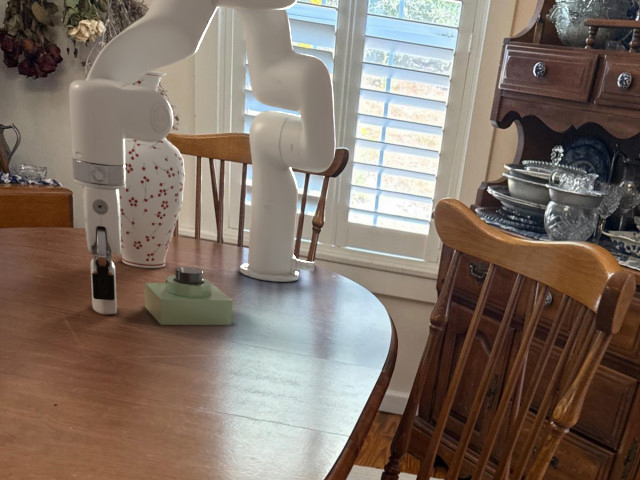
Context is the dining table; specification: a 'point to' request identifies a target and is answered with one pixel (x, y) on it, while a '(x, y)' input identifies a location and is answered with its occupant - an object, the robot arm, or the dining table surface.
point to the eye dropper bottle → (104, 305)
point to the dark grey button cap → (188, 275)
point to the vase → (150, 195)
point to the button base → (188, 303)
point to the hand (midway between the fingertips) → (104, 292)
